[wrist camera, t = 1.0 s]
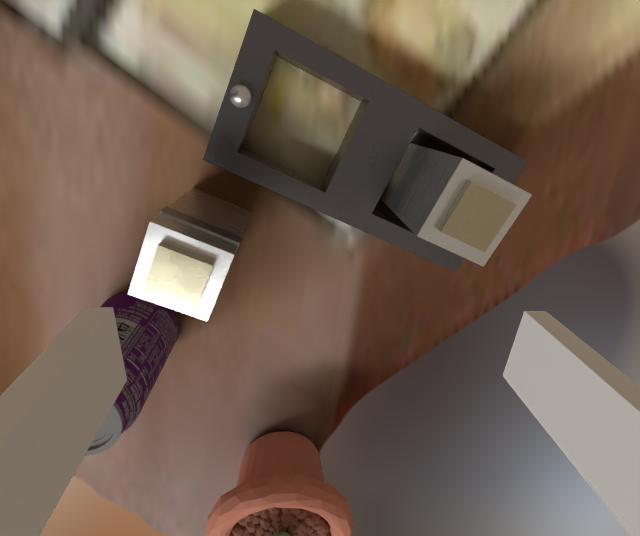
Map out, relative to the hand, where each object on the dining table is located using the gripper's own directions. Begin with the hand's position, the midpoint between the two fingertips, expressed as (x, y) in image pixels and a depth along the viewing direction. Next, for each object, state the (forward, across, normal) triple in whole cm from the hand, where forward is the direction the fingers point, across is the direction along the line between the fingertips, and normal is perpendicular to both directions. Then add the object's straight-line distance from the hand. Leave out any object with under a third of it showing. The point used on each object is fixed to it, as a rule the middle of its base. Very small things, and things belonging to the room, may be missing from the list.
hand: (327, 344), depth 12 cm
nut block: (+21, -7, -3) cm, 22 cm away
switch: (+21, +5, +4) cm, 21 cm away
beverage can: (+21, -14, -12) cm, 28 cm away
